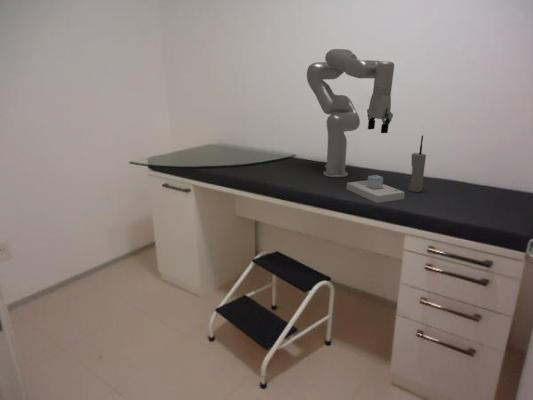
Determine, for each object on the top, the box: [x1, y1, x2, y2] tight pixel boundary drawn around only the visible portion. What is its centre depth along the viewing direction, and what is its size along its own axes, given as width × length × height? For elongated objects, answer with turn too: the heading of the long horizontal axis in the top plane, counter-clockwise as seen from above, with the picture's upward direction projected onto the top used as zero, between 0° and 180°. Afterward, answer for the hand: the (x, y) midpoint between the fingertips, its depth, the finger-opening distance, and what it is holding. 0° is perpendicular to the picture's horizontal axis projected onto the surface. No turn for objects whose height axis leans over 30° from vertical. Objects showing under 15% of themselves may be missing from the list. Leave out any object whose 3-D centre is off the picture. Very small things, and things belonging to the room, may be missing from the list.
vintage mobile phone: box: [407, 135, 427, 193], centre depth 177 cm, size 4×5×25 cm
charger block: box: [367, 174, 384, 190], centre depth 174 cm, size 5×5×7 cm
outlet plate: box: [346, 179, 406, 204], centre depth 175 cm, size 22×14×3 cm, turn 23°
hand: (377, 131), depth 179 cm, fingers open, 9 cm apart
